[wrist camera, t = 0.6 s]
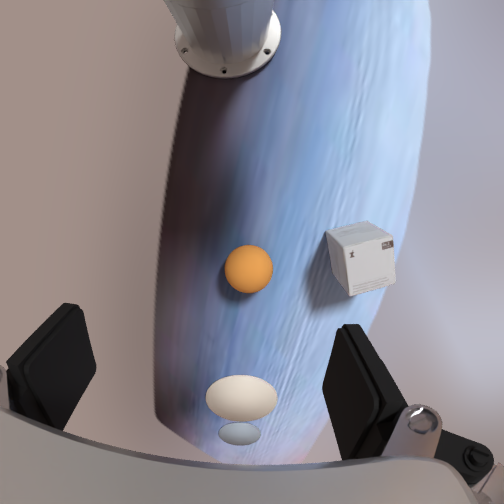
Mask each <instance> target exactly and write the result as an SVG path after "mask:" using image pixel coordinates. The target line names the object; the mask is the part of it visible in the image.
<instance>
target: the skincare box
mask: <svg viewBox="0 0 504 504" xmlns="http://www.w3.org/2000/svg"><path fill="white" fill-rule="evenodd" d="M325 232H326V238H327V243H328V249H329V255H330V261H331V268H332V273H333V274H334V276H335V277H336V279H337V280H338V281H339V283H340V284H341V285H342V287H343V288H344V290H345V291H346V292H347V294H348V295H349V296H354V295H357V294H361V293H364V292H368V291H372V290H375V289H378V288H382V287H385V286H388V285H392V284H395V262H394V246H393V236H392V235H391V234H389V233H387V232H386V231H384V230H382V229H381V228H379V227H377V226H375V225H374V224H372V223H370V222H368V221H363V222H358V223H354V224H350V225H346V226H342V227H338V228H334V229H330V230H326V231H325Z"/></svg>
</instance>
